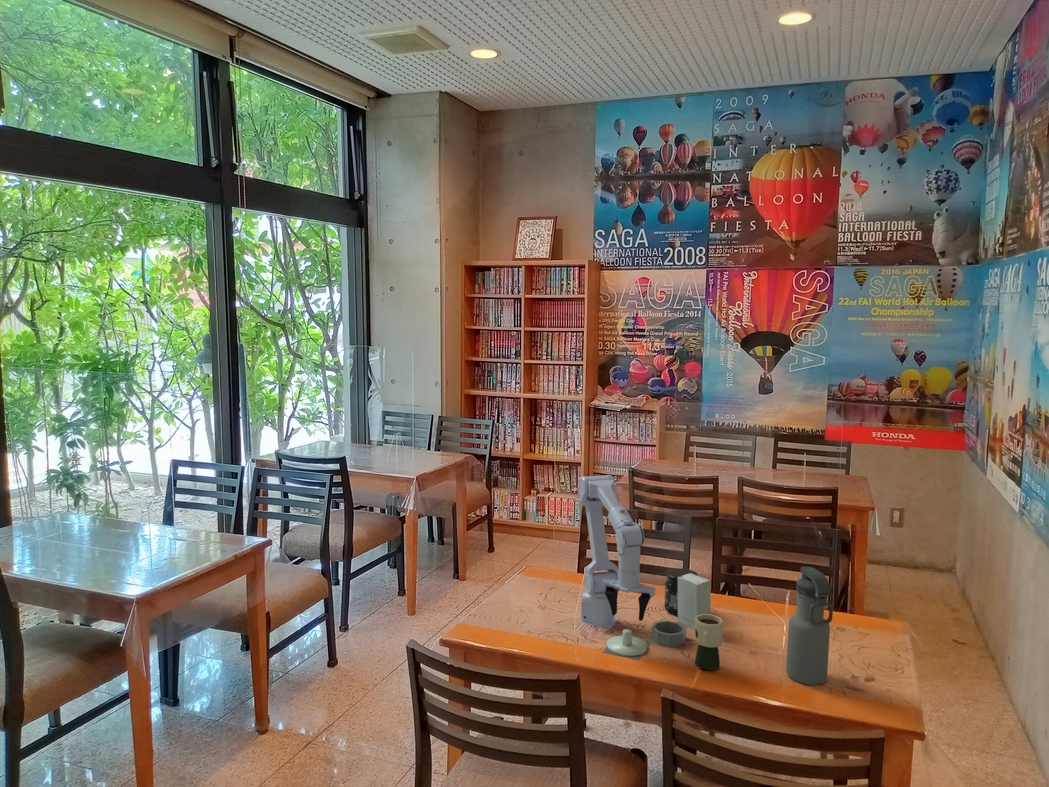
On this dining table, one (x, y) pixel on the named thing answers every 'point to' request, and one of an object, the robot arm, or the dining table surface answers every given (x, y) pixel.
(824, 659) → the water bottle
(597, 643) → the dining table surface
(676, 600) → the supplement container
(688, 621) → the skincare box
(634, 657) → the mat
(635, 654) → the lid
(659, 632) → the bowl
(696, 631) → the character mug
